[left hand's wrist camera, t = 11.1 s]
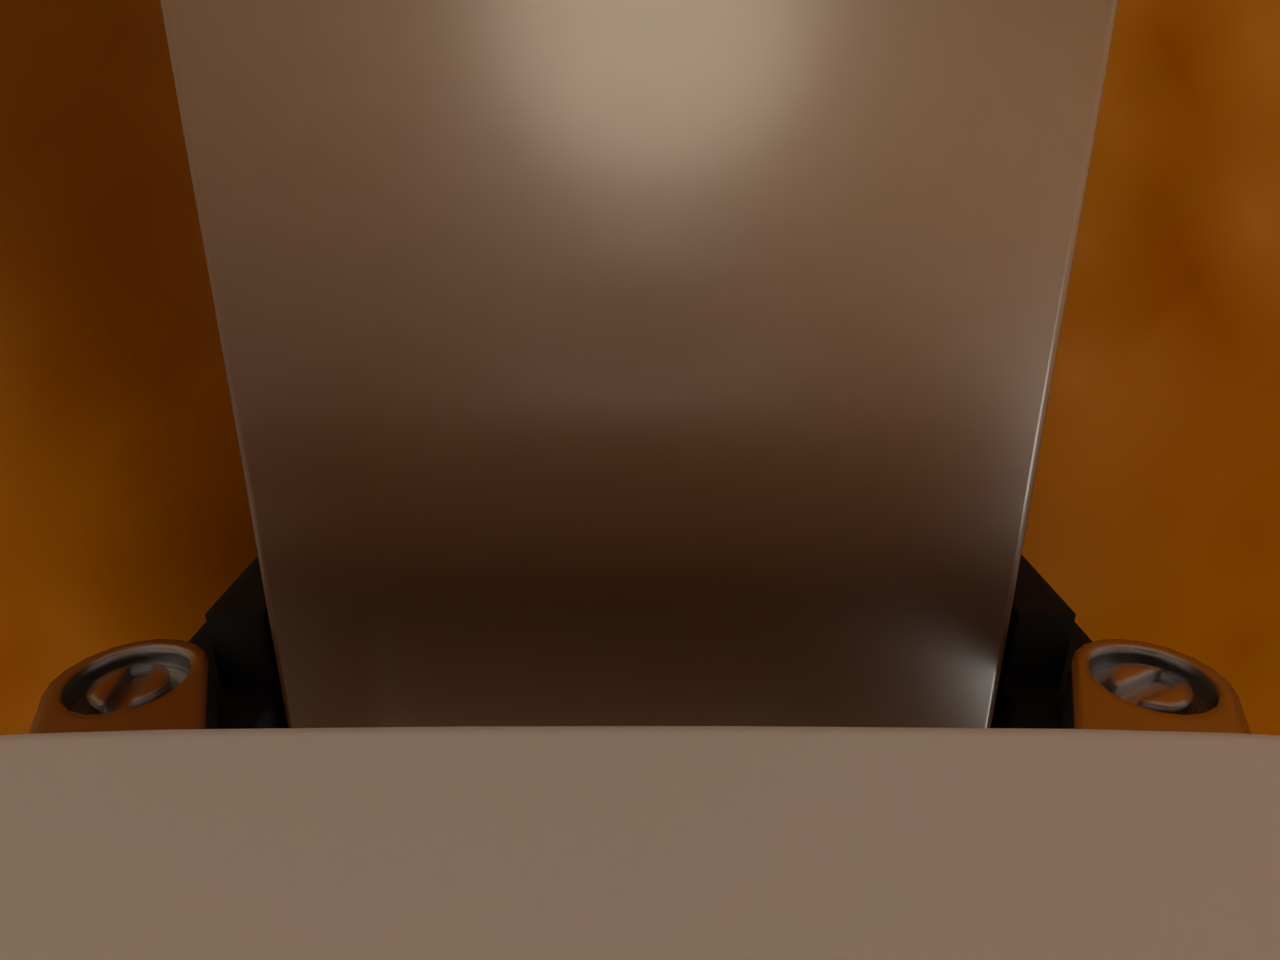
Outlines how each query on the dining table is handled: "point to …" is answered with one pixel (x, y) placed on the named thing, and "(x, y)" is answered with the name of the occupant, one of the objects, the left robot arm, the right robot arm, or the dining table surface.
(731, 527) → the beam
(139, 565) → the dining table surface
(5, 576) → the dining table surface
